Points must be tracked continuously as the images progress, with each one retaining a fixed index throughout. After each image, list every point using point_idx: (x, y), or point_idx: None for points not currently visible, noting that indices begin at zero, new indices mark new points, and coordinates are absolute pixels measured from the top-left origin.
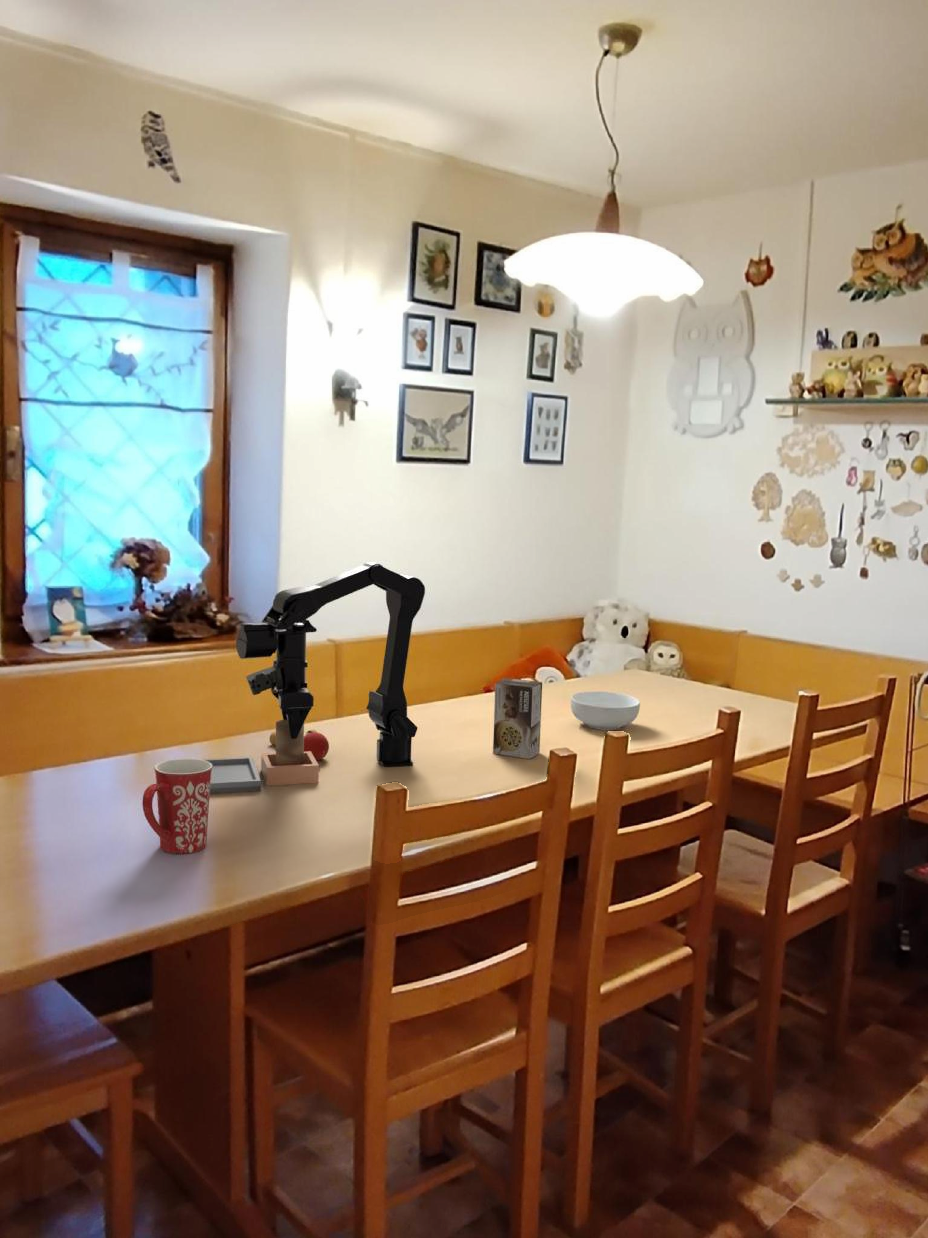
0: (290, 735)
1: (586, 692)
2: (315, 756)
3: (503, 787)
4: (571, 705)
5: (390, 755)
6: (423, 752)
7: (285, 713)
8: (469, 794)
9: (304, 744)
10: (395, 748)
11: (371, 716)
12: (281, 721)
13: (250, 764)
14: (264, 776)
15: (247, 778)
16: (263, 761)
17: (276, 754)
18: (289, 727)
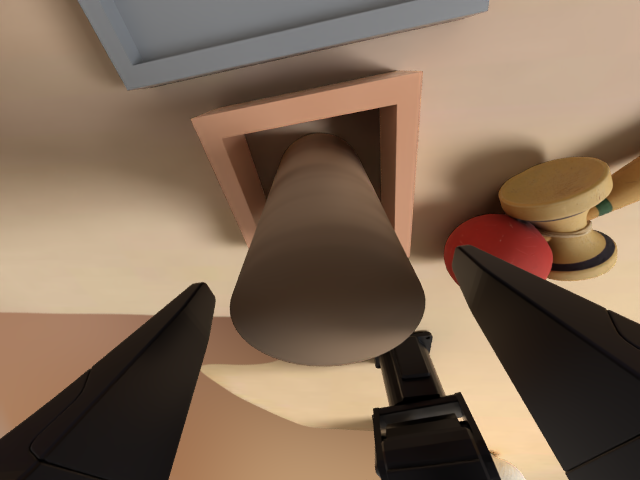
0: (179, 295)
1: None
2: (445, 247)
3: (276, 413)
4: (505, 477)
5: (385, 362)
6: (443, 372)
7: (517, 317)
8: (243, 396)
9: (485, 241)
10: (385, 381)
11: (451, 439)
12: (371, 277)
13: (374, 10)
14: (288, 93)
15: (217, 10)
16: (328, 89)
17: (297, 163)
18: (123, 342)
